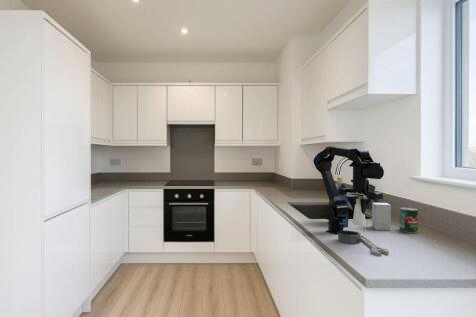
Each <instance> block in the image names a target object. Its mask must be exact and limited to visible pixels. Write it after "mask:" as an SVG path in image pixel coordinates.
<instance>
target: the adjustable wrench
mask: <svg viewBox="0 0 476 317" xmlns="http://www.w3.org/2000/svg"><path fill="white" fill-rule="evenodd" d="M360 242H362V243H363V244H365V246H367V247H368V248H370V249H371V250H370V253H371V254H372V255H374V256H377V257H382V255H386V256H389V254H390V253H389V251H390V250H388V248H383V247H380V246H378V245H376V244H375V243H373V242H372V241H371V240H369V239H368V238H367V237H366V236H364V235H360Z"/></svg>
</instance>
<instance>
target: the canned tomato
mask: <svg viewBox="0 0 476 317" xmlns="http://www.w3.org/2000/svg"><path fill="white" fill-rule="evenodd" d="M399 232H403V233H407V232H408V233H410V234H418V232H419V209H418V208H414V207H404V206H403V207H399Z"/></svg>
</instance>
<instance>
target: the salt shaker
mask: <svg viewBox="0 0 476 317" xmlns="http://www.w3.org/2000/svg"><path fill="white" fill-rule="evenodd" d="M360 199H361V198H358V199H356V204H355V208H354V211H353V216H352V217H353V219H352V224H353V225H355V226H366V223H367V222H366V215H365V214H362V211H361V202H360Z"/></svg>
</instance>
